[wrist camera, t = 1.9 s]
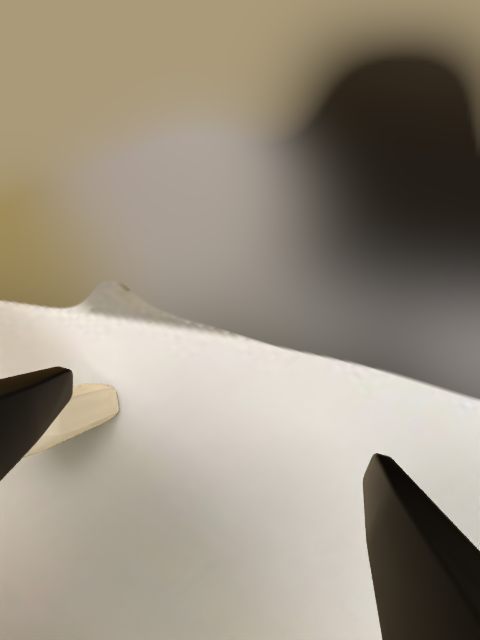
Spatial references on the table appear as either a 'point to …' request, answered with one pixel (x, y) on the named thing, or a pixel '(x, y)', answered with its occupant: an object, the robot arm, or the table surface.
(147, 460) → the table surface
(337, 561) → the table surface
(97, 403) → the eye dropper bottle
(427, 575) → the robot arm
